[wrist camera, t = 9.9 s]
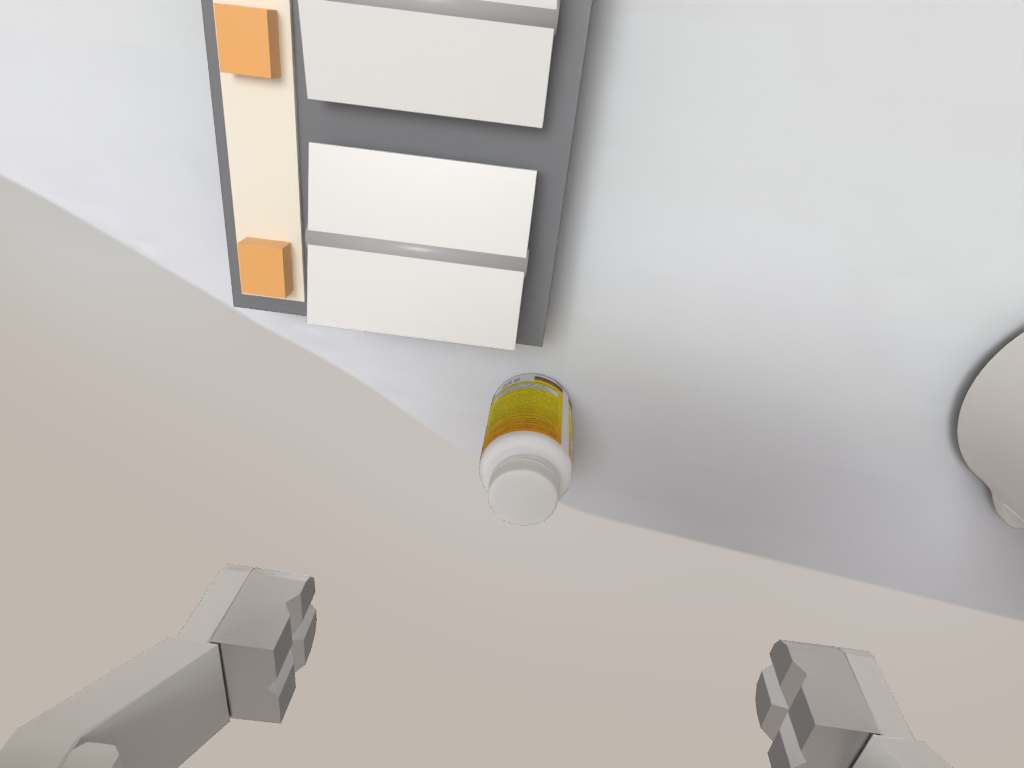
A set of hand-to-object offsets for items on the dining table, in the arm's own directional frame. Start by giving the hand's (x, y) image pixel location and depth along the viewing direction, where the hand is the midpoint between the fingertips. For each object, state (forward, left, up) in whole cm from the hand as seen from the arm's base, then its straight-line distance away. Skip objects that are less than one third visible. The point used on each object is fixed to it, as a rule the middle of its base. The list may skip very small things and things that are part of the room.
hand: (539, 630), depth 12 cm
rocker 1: (+7, -10, -24) cm, 27 cm away
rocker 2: (+7, +1, -24) cm, 25 cm away
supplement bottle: (0, +14, -31) cm, 34 cm away
